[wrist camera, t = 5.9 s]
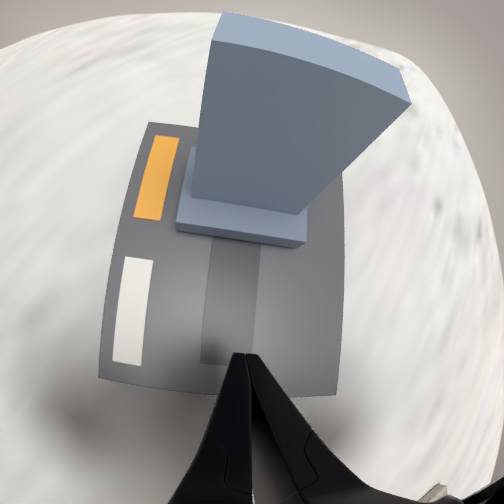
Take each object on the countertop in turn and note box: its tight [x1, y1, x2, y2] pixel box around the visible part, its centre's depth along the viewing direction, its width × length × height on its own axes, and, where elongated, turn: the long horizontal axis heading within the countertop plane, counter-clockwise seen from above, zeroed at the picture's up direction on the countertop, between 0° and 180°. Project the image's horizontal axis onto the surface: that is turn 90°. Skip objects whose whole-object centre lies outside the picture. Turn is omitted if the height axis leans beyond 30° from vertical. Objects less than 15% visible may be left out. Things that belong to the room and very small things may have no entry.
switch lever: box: [176, 12, 411, 248], centre depth 10 cm, size 4×6×10 cm, turn 85°
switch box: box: [98, 122, 344, 397], centre depth 15 cm, size 14×12×2 cm
